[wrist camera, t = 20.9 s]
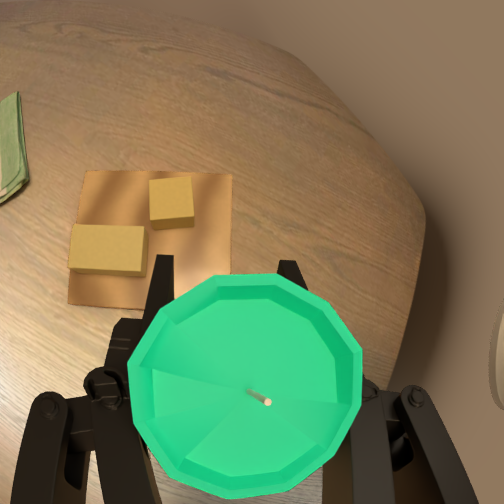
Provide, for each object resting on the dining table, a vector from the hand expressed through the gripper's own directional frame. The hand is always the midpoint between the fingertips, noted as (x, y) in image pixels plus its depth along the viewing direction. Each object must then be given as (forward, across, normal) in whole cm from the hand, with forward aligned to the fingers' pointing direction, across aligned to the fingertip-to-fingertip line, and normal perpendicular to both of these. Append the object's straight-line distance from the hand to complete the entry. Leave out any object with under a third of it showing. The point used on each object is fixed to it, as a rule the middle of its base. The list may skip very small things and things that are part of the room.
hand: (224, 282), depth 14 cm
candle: (-1, 0, -6) cm, 6 cm away
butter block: (+13, -10, -7) cm, 18 cm away
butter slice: (+17, -4, -4) cm, 18 cm away
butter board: (+16, -6, -7) cm, 18 cm away
